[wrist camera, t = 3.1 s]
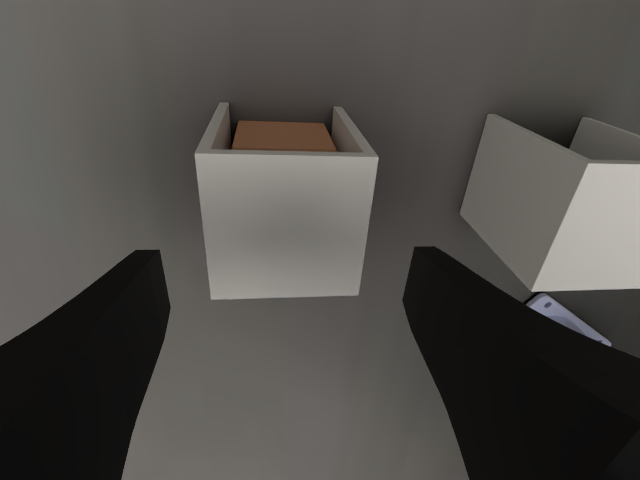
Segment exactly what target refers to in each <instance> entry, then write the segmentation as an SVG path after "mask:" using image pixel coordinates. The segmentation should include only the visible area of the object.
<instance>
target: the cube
mask: <svg viewBox="0 0 640 480" xmlns="http://www.w3.org/2000/svg"><path fill="white" fill-rule="evenodd" d="M232 150H264V151H310V152H336V148H335V146H334V144H333V142H332V140H331V137H330V135H329V133H328V131H327V129H326V127H325V125H324V123H303V122H270V121H238V125H237V129H236V133H235V137H234V141H233V145H232Z"/></svg>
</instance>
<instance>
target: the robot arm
mask: <svg viewBox="0 0 640 480" xmlns="http://www.w3.org/2000/svg"><path fill="white" fill-rule="evenodd" d="M403 304H404V308H405V311H406V315H407V318H408V322H409V325H410V328H411V331H412V333H413V335H414V338H415V340H416V342H417V344H418V347H419V349H420V351H421V353H422V355H423V358H424V360H425V362H426V364H427V366H428V368H429V371H430V373H431V375H432V377H433V379H434V382H435V384H436V386H437V388H438V390H439V392H440V395H441V397H442V399H443V402H444V404H445V407H446V409H447V412H448V415H449V418H450V421H451V424H452V427H453V430H454V432H455V435H456V438H457V441H458V444H459V447H460V451H461V454H462V457H463V460H464V464H465V467H466V470H467V473H468V476H469V480H640V358H637V357H635V356H632V355H630V354H627V353H625V352H622V351H620V350H617V349H615V348H612V347H611V343H610V342H609V341H608V340H607V339H606V338H605V337H603V336H602V335H601V334H599V333H598V332H597V331H595V330H594V329H593V328H591V327H590V326H589V325H587V324H586V323H585V322H583V321H582V320H581V319H579V318H578V317H577V316H575V315H574V314H573V313H571V312H570V311H569V310H567V309H566V308H565V307H563V306H562V305H561V304H559V303H558V302H557V301H555V300H554V299H553V298H551V297H550V296H549V295H547V294H546V293H541V294H538V295H537V296H535V297H534V298H533V299H532V300H530V301H529V302H528V303H527V304H526V305H525V304H523V303H522V302H520V301H518V300H517V299H515V298H513V297H512V296H510V295H508V294H507V293H505V292H503V291H502V290H500V289H499V288H497V287H496V286H494V285H492V284H491V283H489V282H488V281H486V280H485V279H483V278H482V277H480V276H479V275H477V274H476V273H474V272H473V271H471V270H470V269H469V268H467V267H466V266H464V265H463V264H461V263H460V262H458V261H457V260H455V259H454V258H452V257H451V256H449V255H448V254H446V253H445V252H443V251H441V250H440V249H438V248H436V247H434V246H433V247H414V251H413V256H412V260H411V265H410V269H409V274H408V278H407V282H406V287H405V291H404V296H403ZM170 308H171V307H170V302H169V297H168V291H167V286H166V281H165V276H164V270H163V265H162V260H161V254H160V250H135V251H134V252H132V253H131V254H130V255H128V256H127V257H126V258H124V259H123V260H122V261H121V262H119V263H118V264H117V265H116V266H114V267H113V268H112V269H111V270H109V271H108V272H107V273H106V274H104V275H103V276H102V277H100V278H99V279H98V280H97V281H95V282H94V283H93V284H91V285H90V286H89V287H88V288H86V289H85V290H84V291H82V292H81V293H80V294H78V295H77V296H76V297H74V298H73V299H71V300H70V301H69V302H67V303H66V304H64V305H63V306H61V307H60V308H59V309H57V310H56V311H54V312H53V313H52V314H50V315H49V316H47V317H46V318H45V319H43V320H42V321H40V322H39V323H37V324H36V325H34V326H32V327H31V328H29V329H28V330H26V331H25V332H23V333H21V334H20V335H18V336H16V337H15V338H13V339H11V340H10V341H8V342H6V343H5V344H3V345H1V346H0V480H121V478H122V473H123V469H124V465H125V461H126V457H127V453H128V448H129V444H130V440H131V436H132V432H133V429H134V426H135V422H136V419H137V416H138V413H139V410H140V407H141V404H142V402H143V399H144V396H145V393H146V390H147V388H148V385H149V382H150V379H151V376H152V373H153V371H154V368H155V365H156V362H157V359H158V356H159V353H160V350H161V347H162V344H163V341H164V338H165V333H166V328H167V323H168V318H169V313H170Z"/></svg>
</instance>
